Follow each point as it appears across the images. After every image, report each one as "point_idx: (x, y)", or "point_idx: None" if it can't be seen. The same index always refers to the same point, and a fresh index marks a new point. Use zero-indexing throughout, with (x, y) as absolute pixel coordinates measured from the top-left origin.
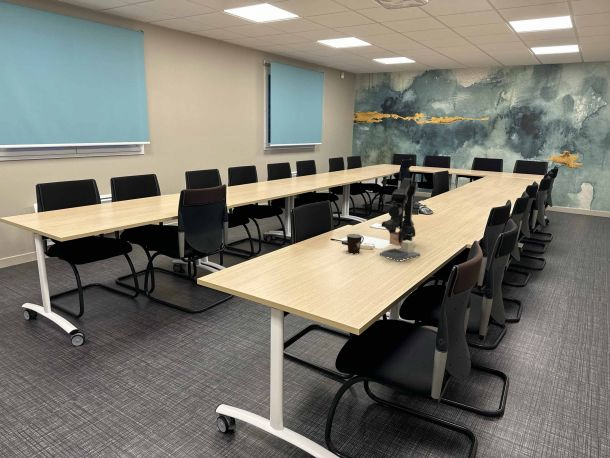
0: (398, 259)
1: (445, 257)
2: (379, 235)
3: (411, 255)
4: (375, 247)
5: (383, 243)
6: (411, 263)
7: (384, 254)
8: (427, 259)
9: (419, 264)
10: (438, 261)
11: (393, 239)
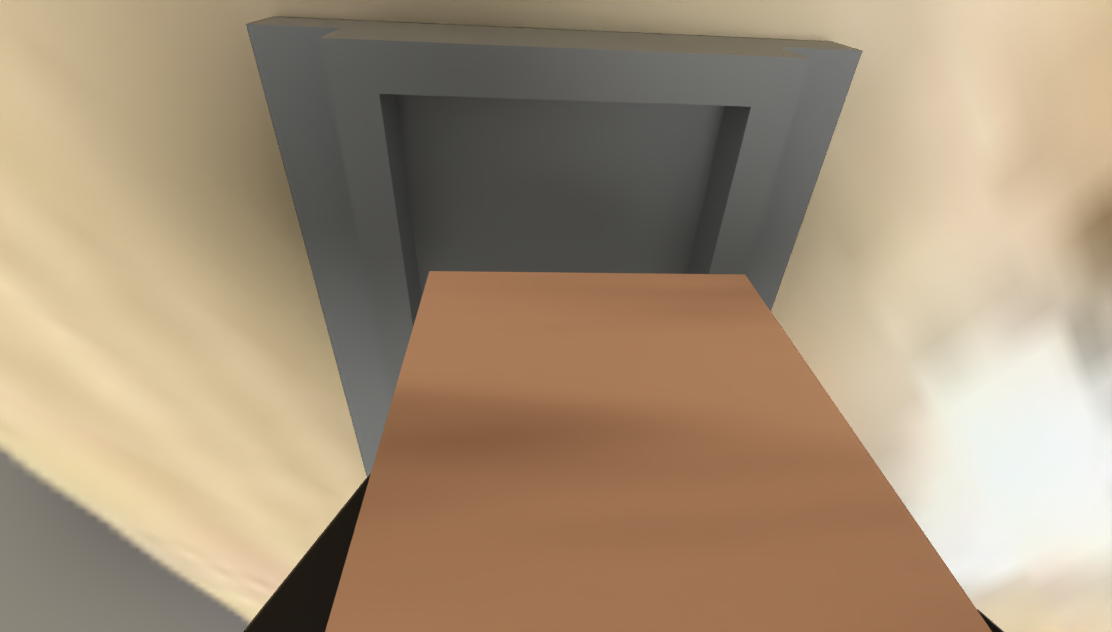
0: (266, 24)
1: (241, 605)
2: (1105, 611)
3: (364, 395)
4: (1056, 340)
5: (993, 505)
6: (93, 158)
7: (715, 42)
8: (235, 468)
9: (3, 231)
10: (116, 501)
11: (608, 406)
